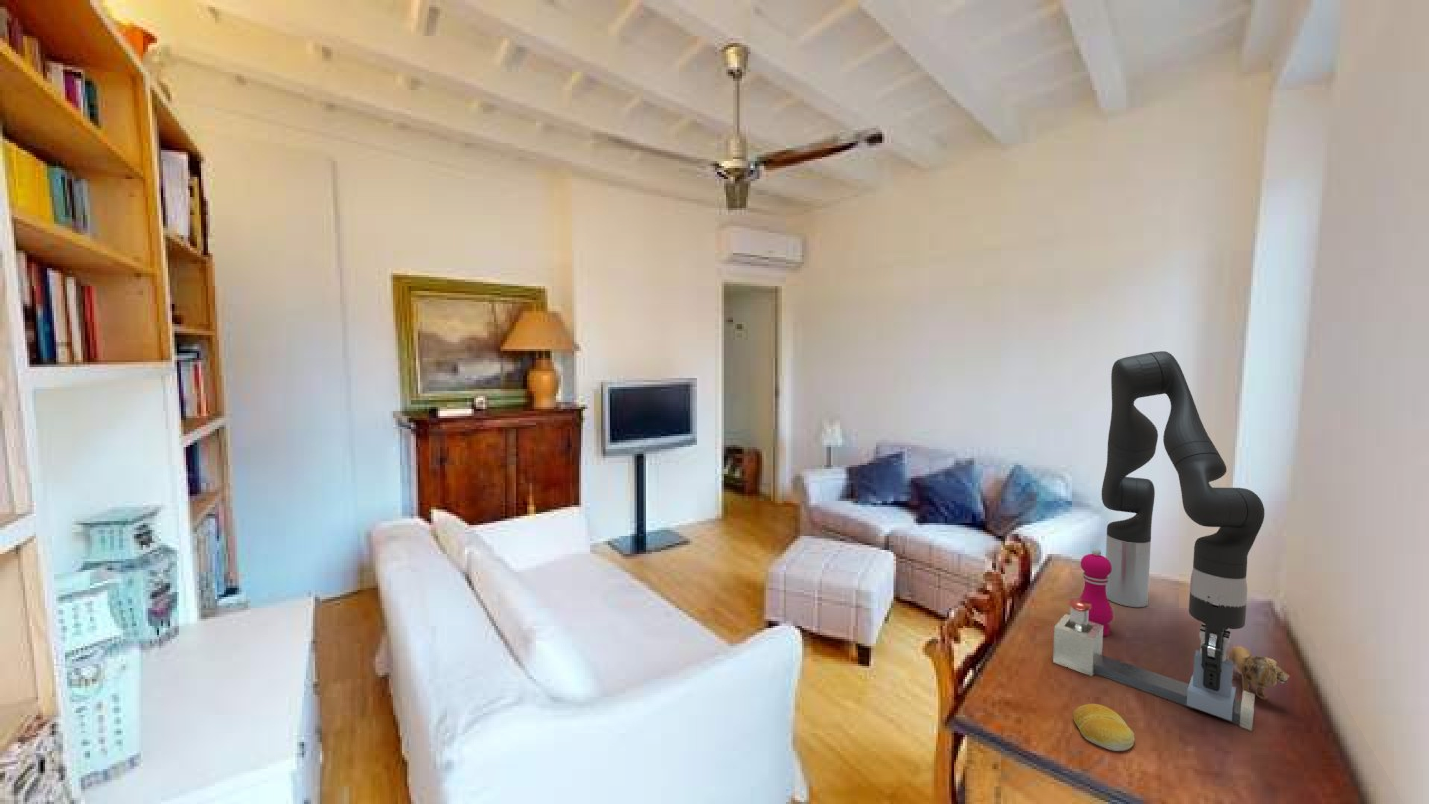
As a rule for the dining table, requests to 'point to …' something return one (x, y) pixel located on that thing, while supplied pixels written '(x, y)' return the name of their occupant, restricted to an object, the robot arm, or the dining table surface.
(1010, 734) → the dining table surface
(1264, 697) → the lion figurine
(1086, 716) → the bread roll
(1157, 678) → the rail station
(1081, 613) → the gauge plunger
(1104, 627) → the pepper mill
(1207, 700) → the carriage
